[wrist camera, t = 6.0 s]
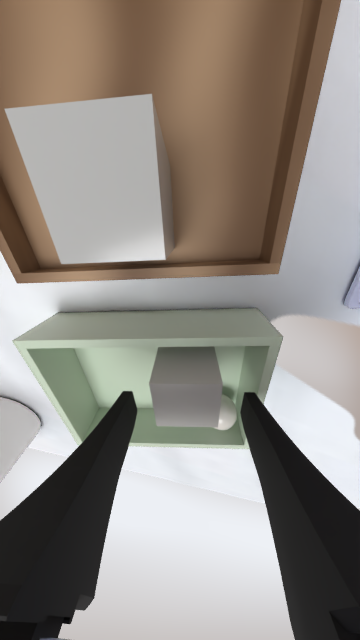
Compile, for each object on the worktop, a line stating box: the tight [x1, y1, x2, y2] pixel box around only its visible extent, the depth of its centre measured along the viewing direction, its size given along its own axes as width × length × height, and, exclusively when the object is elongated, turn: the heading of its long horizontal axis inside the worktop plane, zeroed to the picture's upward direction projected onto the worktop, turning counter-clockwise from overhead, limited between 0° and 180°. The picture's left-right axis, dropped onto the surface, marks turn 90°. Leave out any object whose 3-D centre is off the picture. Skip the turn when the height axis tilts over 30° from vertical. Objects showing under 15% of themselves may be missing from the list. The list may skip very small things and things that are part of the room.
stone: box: [5, 94, 175, 264], centre depth 7 cm, size 4×4×5 cm
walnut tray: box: [0, 0, 341, 283], centre depth 8 cm, size 16×12×2 cm
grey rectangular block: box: [149, 346, 223, 427], centre depth 12 cm, size 4×4×5 cm
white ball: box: [213, 394, 237, 430], centre depth 15 cm, size 3×3×3 cm
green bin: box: [13, 308, 283, 449], centre depth 14 cm, size 16×12×4 cm
